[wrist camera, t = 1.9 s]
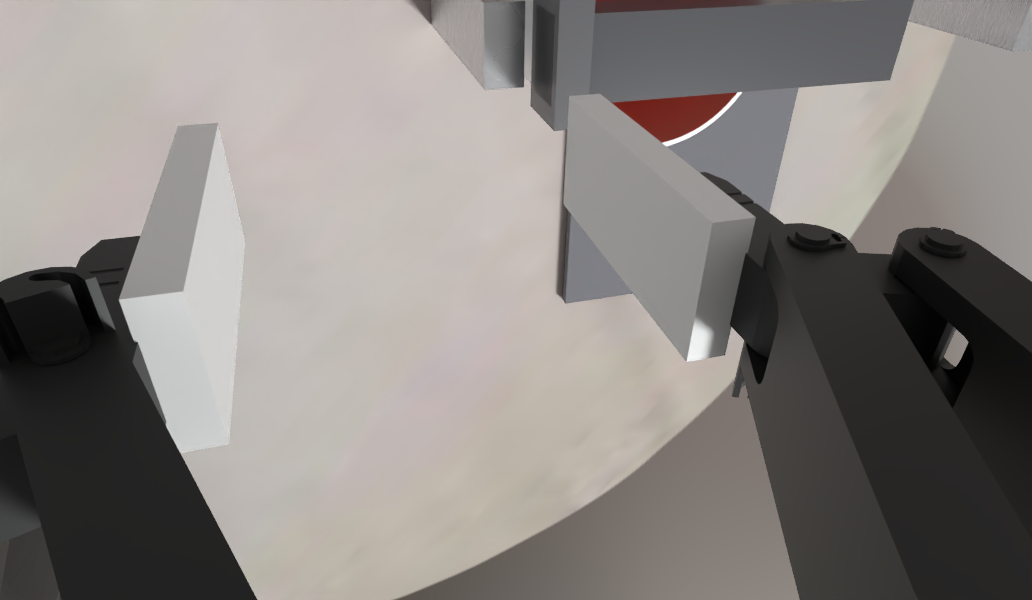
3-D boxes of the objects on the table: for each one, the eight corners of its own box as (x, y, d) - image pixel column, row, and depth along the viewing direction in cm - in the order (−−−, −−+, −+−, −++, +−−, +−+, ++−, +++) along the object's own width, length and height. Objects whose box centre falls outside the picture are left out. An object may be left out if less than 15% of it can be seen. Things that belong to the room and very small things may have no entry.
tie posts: (431, 25, 34) (484, 89, 26) (428, -42, 33) (483, 2, 24) (873, 3, 41) (1038, 49, 32) (889, -54, 39) (1068, -23, 30)
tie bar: (530, 106, 26) (554, 131, 24) (533, -21, 24) (560, -6, 22) (844, 80, 30) (891, 101, 27) (875, -33, 27) (929, -21, 25)
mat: (562, 298, 46) (565, 303, 45) (575, 85, 38) (578, 88, 38) (749, 270, 49) (754, 274, 49) (796, 69, 41) (802, 71, 41)
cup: (536, -173, 31) (626, -177, 23) (701, -68, 36) (824, -40, 28) (449, 41, 35) (500, 101, 27) (607, 112, 40) (691, 181, 32)
